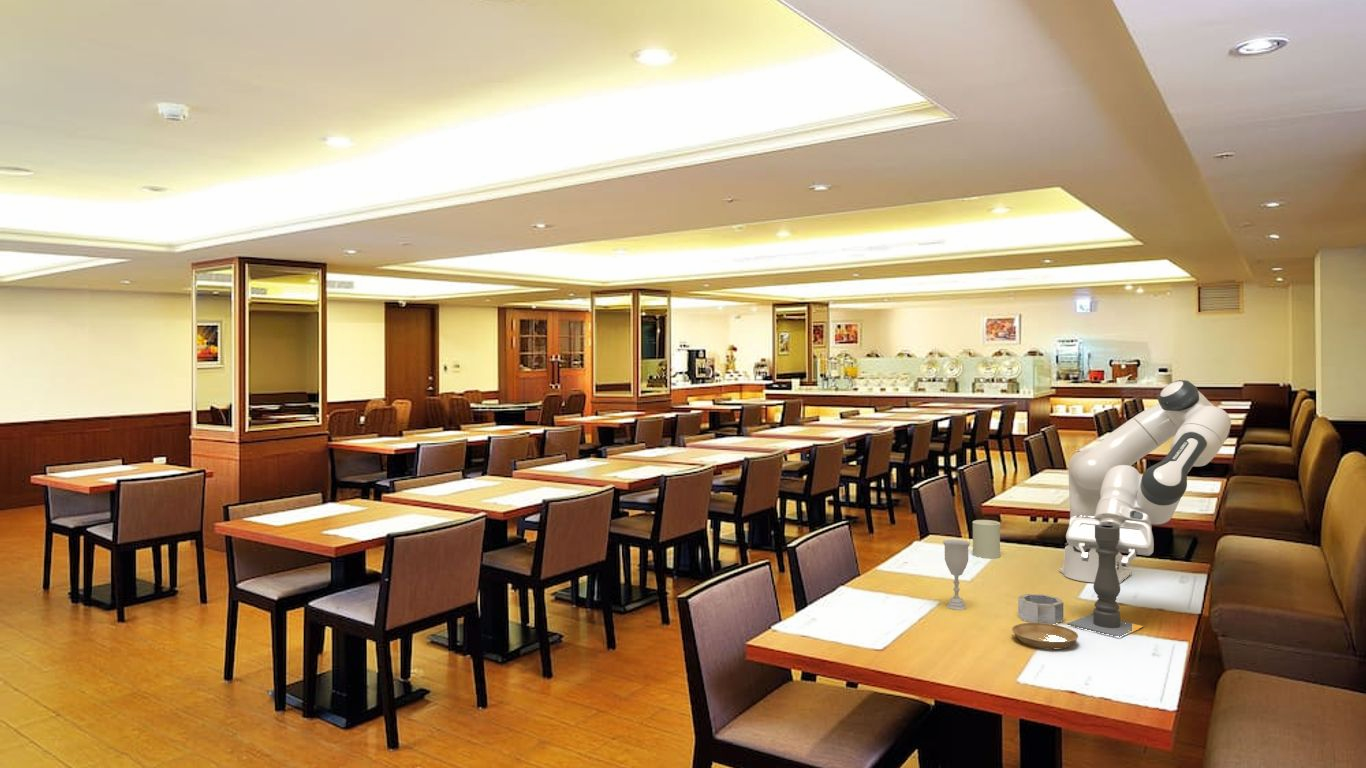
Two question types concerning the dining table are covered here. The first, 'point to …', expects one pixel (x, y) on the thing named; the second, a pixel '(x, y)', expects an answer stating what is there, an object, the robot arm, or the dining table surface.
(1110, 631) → the slate mat
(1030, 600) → the steel collar
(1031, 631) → the plant saucer
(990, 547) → the can
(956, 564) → the chalice
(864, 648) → the dining table surface
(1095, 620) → the candle holder
